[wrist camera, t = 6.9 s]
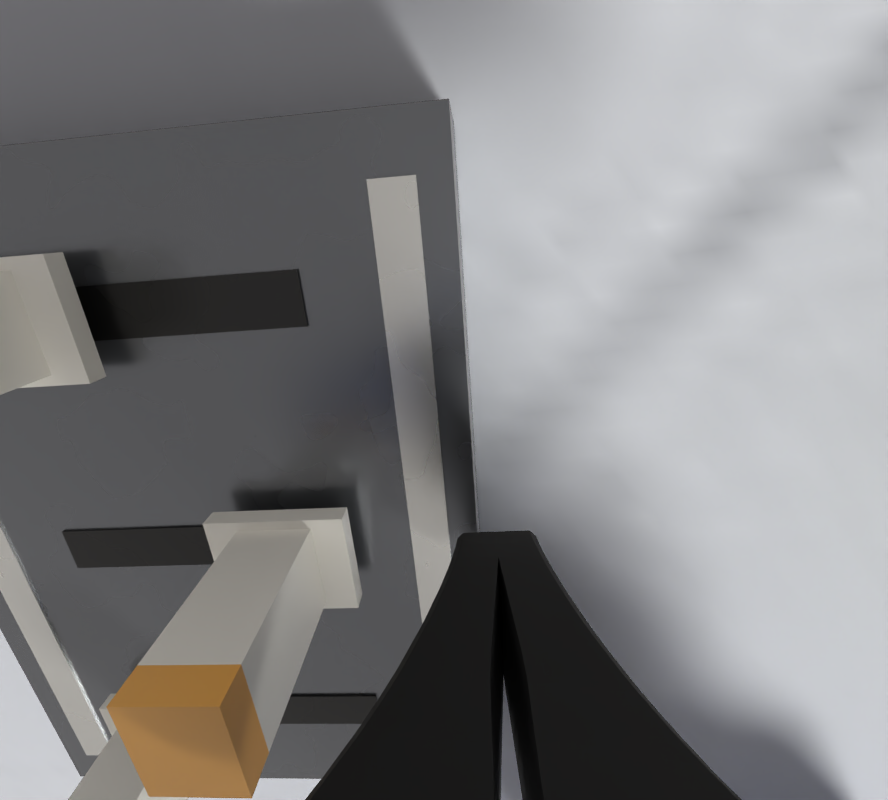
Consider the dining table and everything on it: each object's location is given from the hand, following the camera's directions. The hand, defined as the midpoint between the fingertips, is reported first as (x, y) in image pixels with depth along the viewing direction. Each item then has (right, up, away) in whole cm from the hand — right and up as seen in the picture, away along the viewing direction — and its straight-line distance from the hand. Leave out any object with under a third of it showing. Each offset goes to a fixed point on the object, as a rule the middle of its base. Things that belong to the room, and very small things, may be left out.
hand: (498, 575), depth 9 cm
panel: (-6, +1, +4) cm, 7 cm away
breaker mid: (-4, 0, +1) cm, 4 cm away
